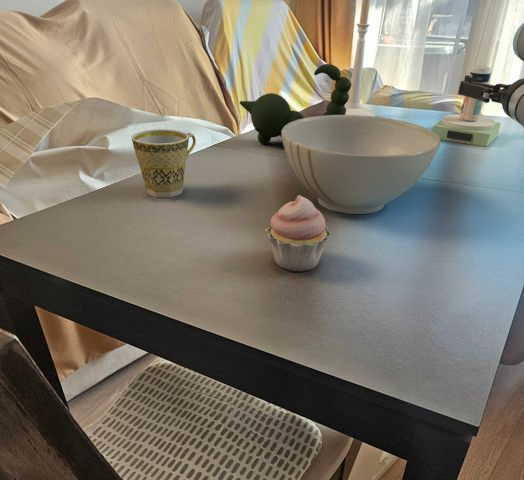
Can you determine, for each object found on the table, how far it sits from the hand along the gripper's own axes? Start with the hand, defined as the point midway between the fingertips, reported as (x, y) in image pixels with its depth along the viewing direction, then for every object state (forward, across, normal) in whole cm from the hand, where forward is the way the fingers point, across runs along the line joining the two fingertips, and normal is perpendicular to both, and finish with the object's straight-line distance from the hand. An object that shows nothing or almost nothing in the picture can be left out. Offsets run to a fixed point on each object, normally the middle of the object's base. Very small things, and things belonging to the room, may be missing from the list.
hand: (495, 82), depth 118 cm
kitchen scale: (+9, -1, -14) cm, 17 cm away
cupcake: (-68, -45, -14) cm, 83 cm away
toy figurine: (-7, -47, -14) cm, 49 cm away
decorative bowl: (-43, -35, -14) cm, 57 cm away
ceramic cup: (-40, -69, -14) cm, 81 cm away
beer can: (+9, -1, -10) cm, 13 cm away
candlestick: (+26, -30, -14) cm, 42 cm away
